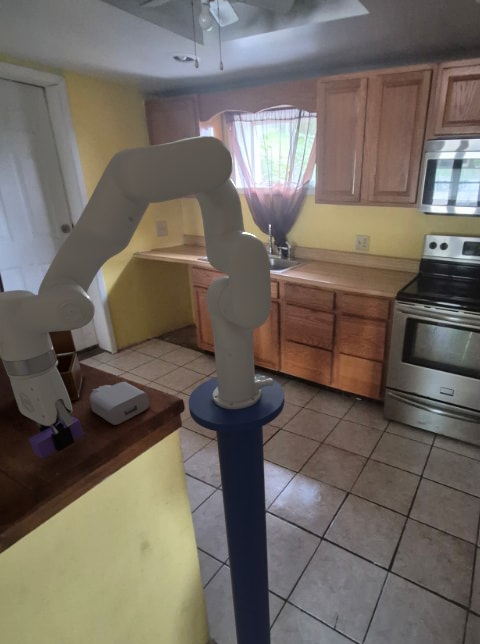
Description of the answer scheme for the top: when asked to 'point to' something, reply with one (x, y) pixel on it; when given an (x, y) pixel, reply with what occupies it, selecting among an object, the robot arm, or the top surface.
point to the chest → (70, 374)
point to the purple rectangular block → (44, 442)
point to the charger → (118, 402)
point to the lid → (62, 342)
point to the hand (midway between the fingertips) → (59, 442)
